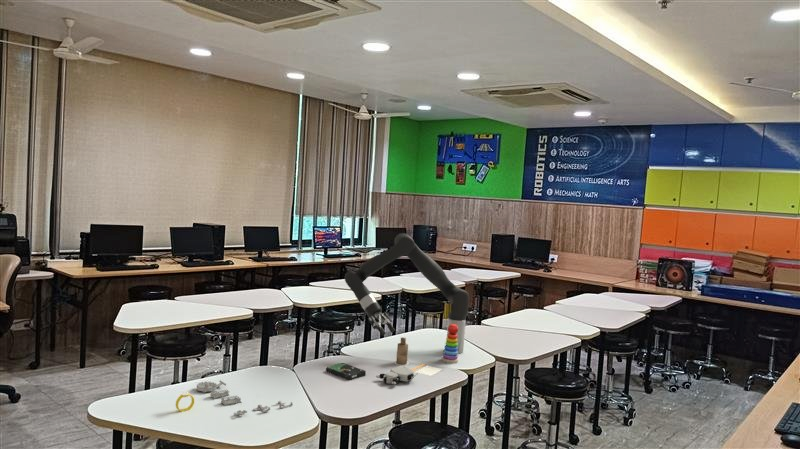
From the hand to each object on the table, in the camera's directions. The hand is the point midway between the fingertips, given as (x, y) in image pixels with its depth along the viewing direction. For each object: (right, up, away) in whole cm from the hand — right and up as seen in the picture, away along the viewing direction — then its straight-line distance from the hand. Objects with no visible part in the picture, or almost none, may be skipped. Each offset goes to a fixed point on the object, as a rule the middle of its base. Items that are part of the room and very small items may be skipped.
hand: (388, 333), depth 256 cm
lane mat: (+12, -15, -8) cm, 20 cm away
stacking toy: (+30, -16, +6) cm, 34 cm away
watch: (-69, -12, -72) cm, 101 cm away
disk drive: (-19, -14, -23) cm, 32 cm away
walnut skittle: (+6, -14, -4) cm, 15 cm away
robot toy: (+4, -15, -28) cm, 32 cm away
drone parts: (-53, -13, -57) cm, 79 cm away
